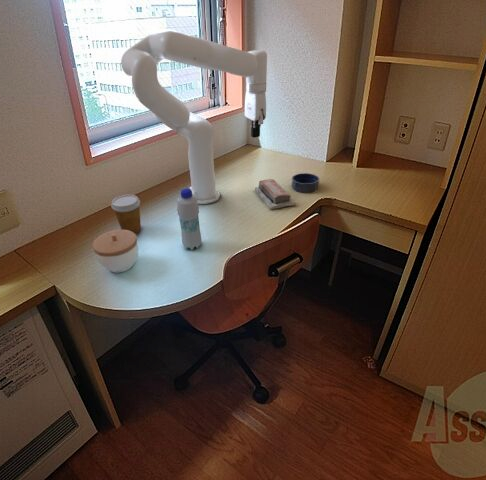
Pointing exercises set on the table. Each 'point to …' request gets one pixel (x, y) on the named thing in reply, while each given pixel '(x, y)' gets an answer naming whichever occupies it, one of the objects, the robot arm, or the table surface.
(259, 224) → the table surface
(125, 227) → the disposable coffee cup
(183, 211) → the bottle
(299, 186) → the dark blue bowl
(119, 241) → the lidded bowl
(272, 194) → the butter dish
